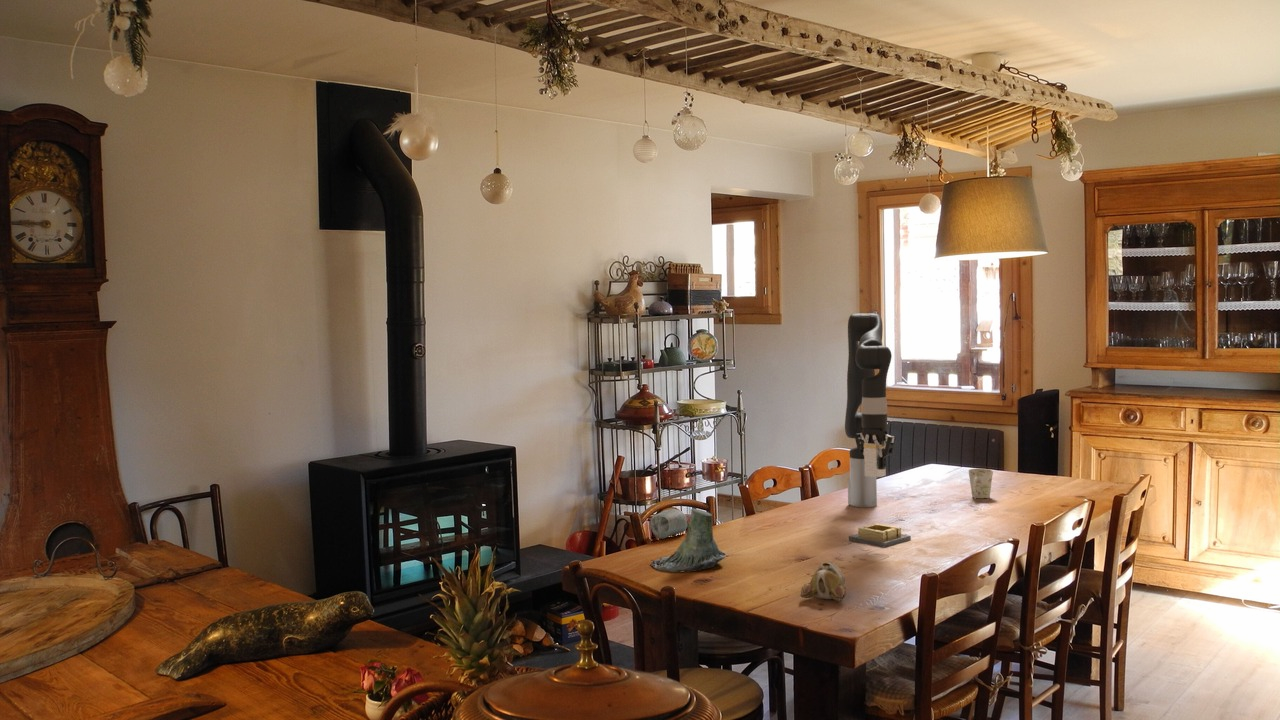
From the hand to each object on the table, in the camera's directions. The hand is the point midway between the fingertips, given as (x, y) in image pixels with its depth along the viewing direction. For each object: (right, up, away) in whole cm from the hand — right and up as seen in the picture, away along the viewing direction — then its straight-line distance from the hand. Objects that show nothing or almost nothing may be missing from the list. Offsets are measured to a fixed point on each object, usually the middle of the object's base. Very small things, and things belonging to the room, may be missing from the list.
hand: (875, 468), depth 294 cm
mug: (+53, -18, +61) cm, 82 cm away
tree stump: (-57, -25, -22) cm, 66 cm away
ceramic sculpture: (-26, -25, -57) cm, 68 cm away
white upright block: (0, -2, 0) cm, 2 cm away
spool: (-62, -23, +14) cm, 68 cm away
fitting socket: (+2, -22, +1) cm, 22 cm away
